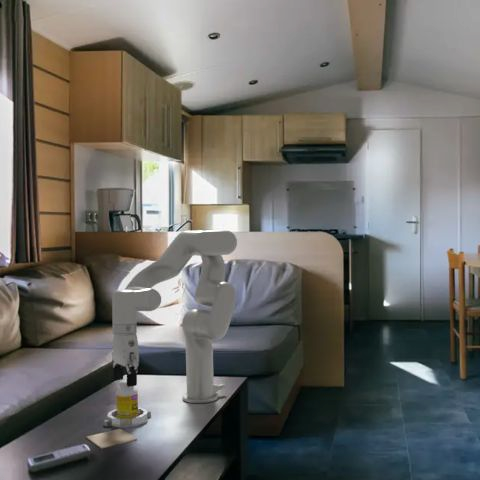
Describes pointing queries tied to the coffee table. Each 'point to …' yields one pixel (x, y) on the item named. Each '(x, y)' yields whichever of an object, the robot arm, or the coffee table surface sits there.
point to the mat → (111, 438)
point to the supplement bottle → (127, 400)
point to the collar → (127, 419)
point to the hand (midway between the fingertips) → (124, 382)
